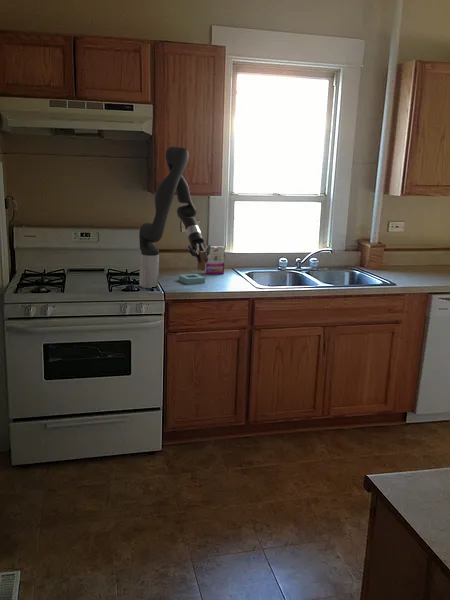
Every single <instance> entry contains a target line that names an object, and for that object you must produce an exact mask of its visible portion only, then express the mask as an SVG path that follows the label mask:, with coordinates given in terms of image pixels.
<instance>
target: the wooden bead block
mask: <svg viewBox="0 0 450 600" xmlns="http://www.w3.org/2000/svg"><path fill="white" fill-rule="evenodd" d="M178 281H179V282H181V283H184V284H186V285H195V284H196V285H197V284H205V283H206V278H205V277H204V276H202V275H201V274H198V273H189V274H186V273H185V274H178Z"/></svg>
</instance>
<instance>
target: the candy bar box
mask: <svg viewBox="0 0 450 600" xmlns="http://www.w3.org/2000/svg"><path fill="white" fill-rule="evenodd" d="M210 246H211V245H210ZM205 250H206V248H205ZM206 251H207V250H206ZM225 251H226V248H225V246H223V245H222V246H220V245H214V246H211V247H210V254H209V255H208V256H207V257H208V262H207V263H205V271H204V274H205V275H224V274H225V256H226V255H225V253H226V252H225Z"/></svg>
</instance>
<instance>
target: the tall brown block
mask: <svg viewBox="0 0 450 600" xmlns="http://www.w3.org/2000/svg"><path fill="white" fill-rule="evenodd" d="M199 255H200V257H201V260H202V262H201V263H199V262H198V261H197V271H200V272H201V271H204V272H205V262H206V252H205V251H199Z"/></svg>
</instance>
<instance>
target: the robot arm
mask: <svg viewBox="0 0 450 600" xmlns="http://www.w3.org/2000/svg"><path fill="white" fill-rule="evenodd" d="M189 154H190V153H189V150H188V149H187V148H185V147H182V146H181V147H180V146H169V147H167V149H166V151H165V154H164V155H165V160H166V164H167V166H168V169H169V173H168V174H167V176H166V177H165V178H163V180H161V182H160V183H159V184H158V186H157V189H156V191H155V195H154V207H155V214H154V218H153V221H152V223H151V222H145V223H142V225H140V227H139V232H138V234H139V237H138V238H139V249H140V267H139V275H138V276H139V284H138V285H139V286H140V287H141V288H143V289H153V288H152V287H155V286H158V287H159V273H160V272H159V271H160V270H159V269H160V268H159V267H160V262H159V261H160V249H159V248H158V247H157V246H156V245H155V243H157V242H159V241H160V240H161V239H162V237H163V234H164V230H165V226H166V222H167V219H168V216H169V212H170V209H171V205H172V203H173V201H174V198H175V194H176V198H177V201H178V203H180V204H186V205H181V206H179V207H177V208H176V214H177V217H178V218H179V219H180V221H181V222H182V224H183V225H184V228H185V232H186V236H187V239H188V242H189V244H190V245H187V248H186V250H187V252H189V254H190V255H191V256H192V257H195V258H196V260H197V263H198V262H199V263H201V262H202V260H201V257H200V255H199V251H205V252H206V262H205V263H207V262H208V257H207V256H208V255H209V254H210V247H211V245H206V243H205V241H204V237H203V235H202V231H201V229H200V227H199V224H198V220H197V219H196V218H194V217H196V215H197V209H196V206H195V204H194V203H193V201H192V197H191V193H190V188H189V185H188V184H189V183H188V182H187V181H186V179H185V177H184V176H183V173H184V171H185V168H186V166H187V164H188V162H189V158H190V157H189ZM205 248H206V250H207V251H206V250H205Z"/></svg>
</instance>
